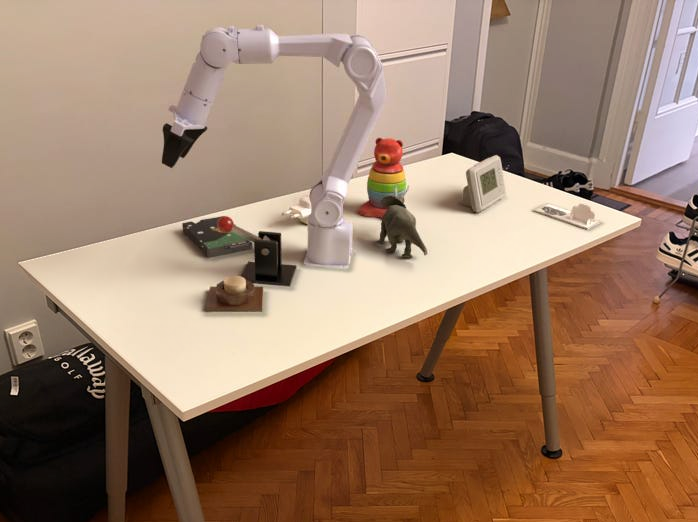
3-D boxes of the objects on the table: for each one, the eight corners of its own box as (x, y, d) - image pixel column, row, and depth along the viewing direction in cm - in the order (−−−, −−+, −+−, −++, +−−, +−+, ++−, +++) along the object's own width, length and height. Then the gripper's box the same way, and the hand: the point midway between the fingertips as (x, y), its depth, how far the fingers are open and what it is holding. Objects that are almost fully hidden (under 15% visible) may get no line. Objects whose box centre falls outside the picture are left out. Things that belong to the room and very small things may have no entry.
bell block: (263, 293, 139) (262, 277, 137) (262, 314, 132) (261, 297, 130) (210, 293, 138) (209, 276, 136) (207, 314, 131) (205, 297, 129)
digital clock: (476, 215, 177) (482, 174, 171) (448, 204, 182) (453, 163, 177) (515, 201, 187) (522, 161, 181) (487, 190, 192) (493, 151, 186)
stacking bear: (355, 214, 174) (359, 141, 164) (371, 201, 182) (375, 130, 172) (397, 223, 171) (403, 149, 161) (411, 209, 179) (418, 137, 169)
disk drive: (182, 234, 159) (208, 260, 149) (180, 223, 158) (207, 248, 147) (225, 226, 164) (254, 251, 154) (224, 214, 163) (253, 238, 152)
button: (246, 284, 135) (246, 275, 134) (245, 294, 132) (245, 285, 131) (225, 284, 135) (224, 275, 134) (223, 294, 132) (223, 285, 131)
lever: (212, 230, 138) (218, 217, 136) (216, 224, 141) (222, 210, 139) (269, 258, 140) (276, 245, 139) (272, 251, 143) (279, 238, 141)
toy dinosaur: (428, 271, 151) (434, 221, 144) (389, 273, 149) (393, 222, 143) (402, 228, 168) (406, 182, 162) (367, 230, 167) (370, 183, 160)
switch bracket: (239, 284, 141) (237, 243, 136) (248, 266, 148) (246, 226, 143) (290, 288, 141) (289, 247, 136) (296, 270, 148) (296, 230, 143)
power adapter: (293, 233, 163) (293, 208, 160) (279, 226, 165) (278, 202, 162) (328, 220, 170) (329, 197, 167) (314, 214, 172) (314, 191, 169)
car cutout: (600, 222, 178) (604, 205, 176) (587, 229, 174) (591, 212, 171) (547, 204, 186) (551, 188, 184) (534, 211, 182) (537, 194, 180)
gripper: (189, 77, 137) (165, 141, 143) (166, 89, 124) (140, 159, 130) (223, 96, 138) (198, 158, 144) (204, 110, 125) (177, 177, 132)
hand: (173, 160), depth 137 cm, fingers open, 7 cm apart
